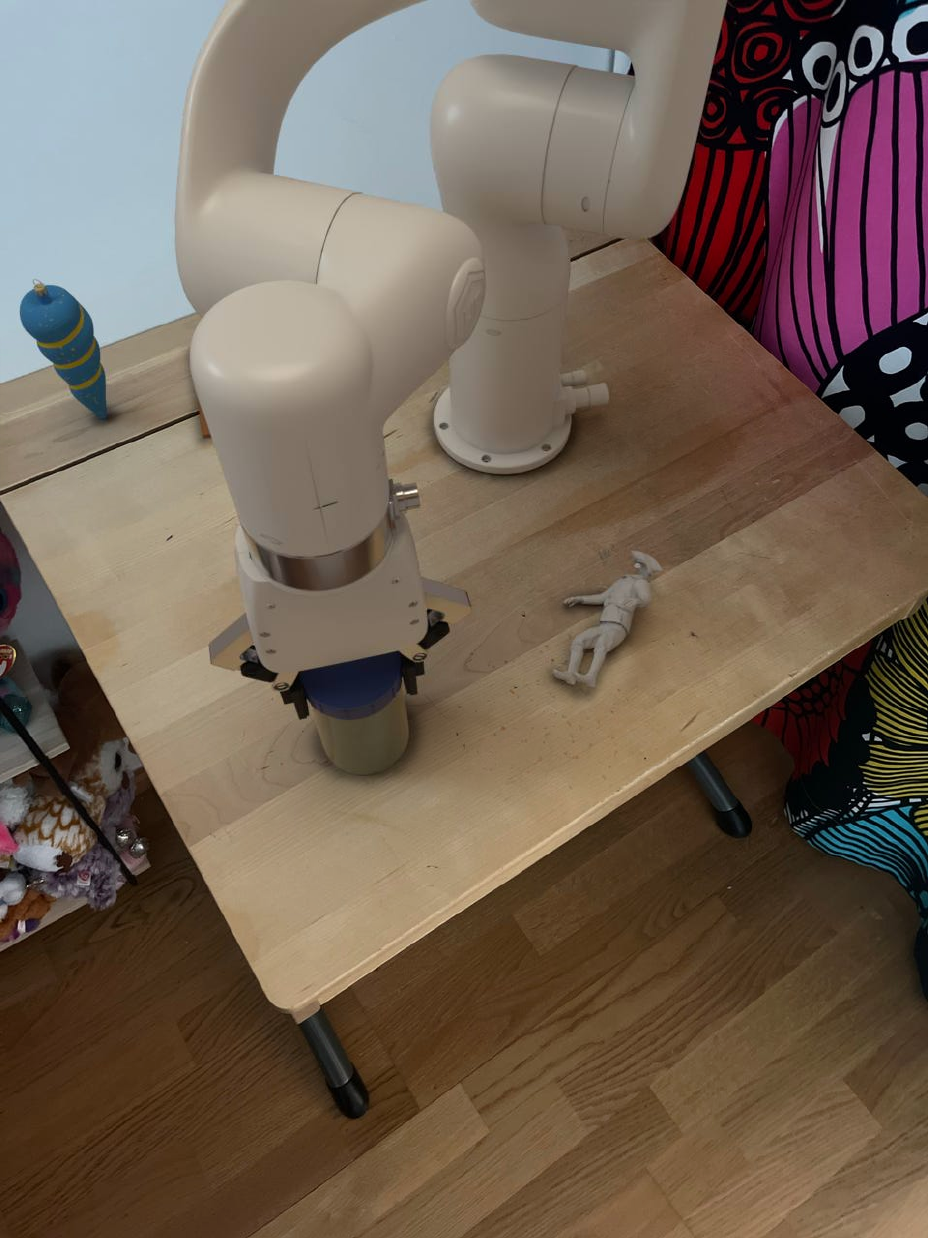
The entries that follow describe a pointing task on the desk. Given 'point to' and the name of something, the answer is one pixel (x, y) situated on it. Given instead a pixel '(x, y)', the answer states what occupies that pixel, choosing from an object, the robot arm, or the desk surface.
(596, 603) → the soldier figure
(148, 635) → the desk surface
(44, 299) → the ornament
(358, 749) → the jar
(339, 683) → the jar lid
